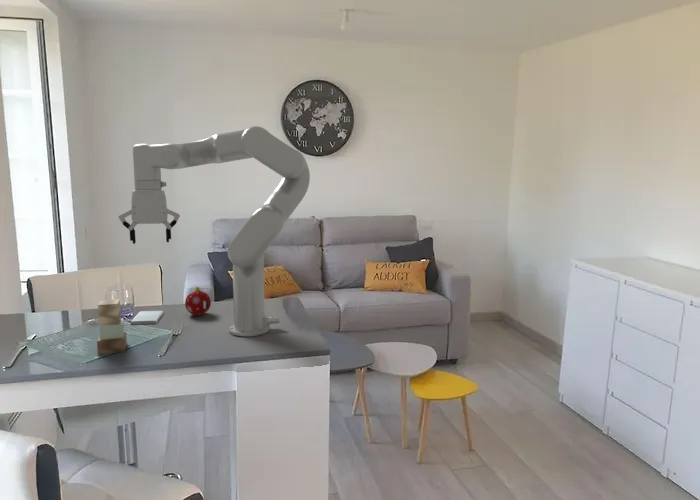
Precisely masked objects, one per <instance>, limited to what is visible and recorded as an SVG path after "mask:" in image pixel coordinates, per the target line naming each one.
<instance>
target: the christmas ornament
mask: <svg viewBox="0 0 700 500" xmlns="http://www.w3.org/2000/svg"><path fill="white" fill-rule="evenodd" d="M211 304H212V301H211V297H210V295H208V294H207V293H206V291H203V290H200V287H199V286H196V287H195V290H194V291H191V292H190V293H189V294H188V295H187V296H186V298H185V299H184V306H185V308H186V311H188V314H191V315H192V316H193V315H194V316H202V315H205V313H207V312H208V311H209V310H210V309H211Z"/></svg>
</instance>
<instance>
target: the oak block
mask: <svg viewBox="0 0 700 500" xmlns="http://www.w3.org/2000/svg"><path fill="white" fill-rule="evenodd" d="M97 311H98V313H97V314H98V322H99V325H98V326H106V325H119V323H120V321H121V318H122V317H121V316H122V315H121V299H119V298H118V299H117V298H116V299H103V300H100V301H99V303H98V304H97Z"/></svg>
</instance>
